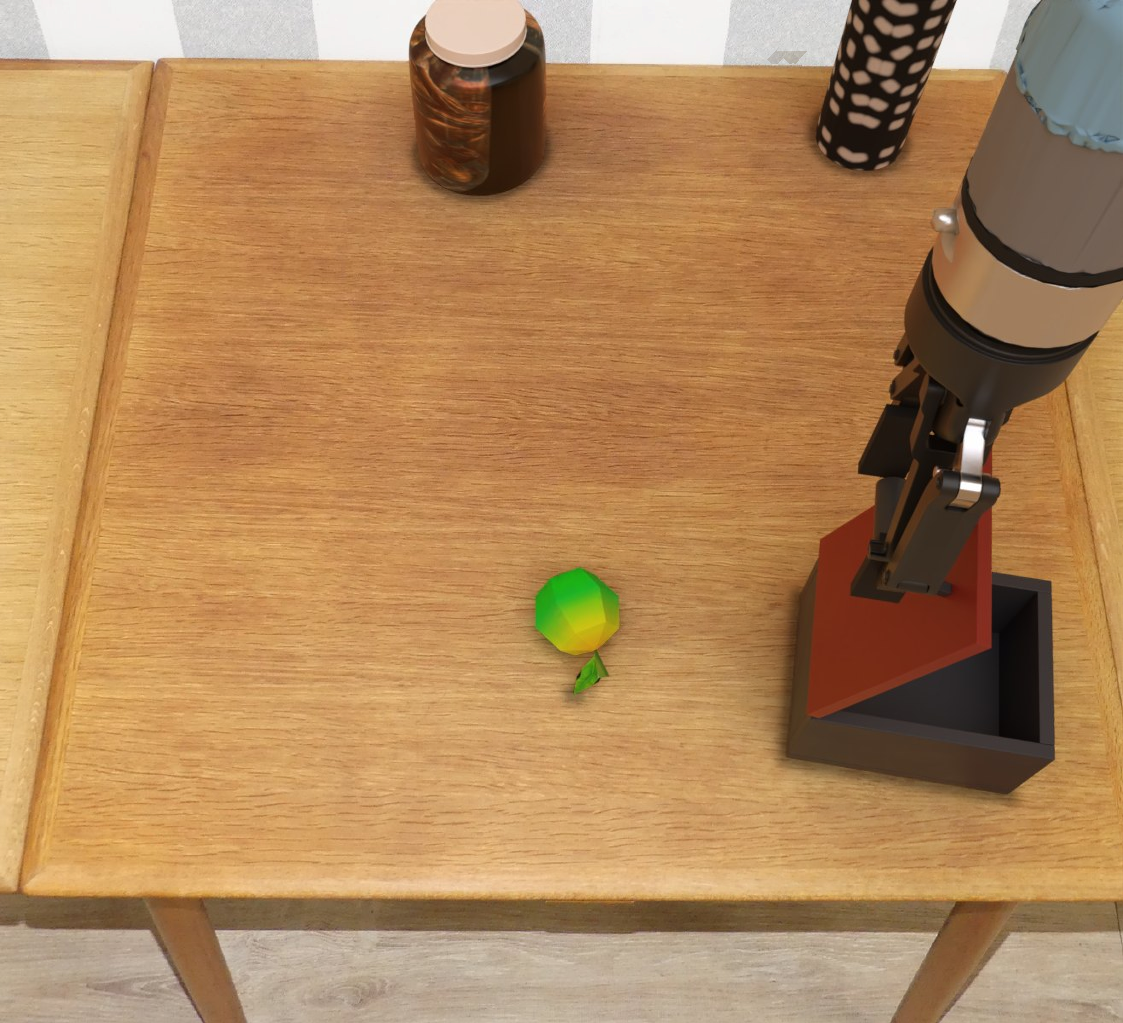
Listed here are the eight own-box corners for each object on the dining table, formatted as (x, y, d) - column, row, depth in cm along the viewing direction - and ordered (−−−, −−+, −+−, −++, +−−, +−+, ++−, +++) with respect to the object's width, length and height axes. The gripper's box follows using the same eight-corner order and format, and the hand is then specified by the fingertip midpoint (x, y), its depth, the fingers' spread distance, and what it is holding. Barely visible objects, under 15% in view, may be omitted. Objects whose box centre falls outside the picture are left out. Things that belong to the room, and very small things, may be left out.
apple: (556, 548, 88) (609, 655, 84) (613, 549, 92) (666, 651, 89) (498, 602, 92) (547, 707, 88) (556, 601, 96) (605, 701, 92)
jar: (516, 212, 112) (514, 86, 98) (399, 175, 113) (381, 46, 100) (562, 123, 117) (566, -8, 103) (449, 89, 118) (439, -44, 105)
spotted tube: (843, 181, 114) (900, 4, 96) (799, 120, 117) (846, -62, 100) (919, 155, 116) (989, -24, 98) (874, 96, 119) (933, -88, 101)
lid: (992, 444, 72) (907, 410, 70) (991, 648, 66) (899, 616, 64) (831, 543, 86) (757, 517, 85) (819, 718, 80) (739, 694, 79)
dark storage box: (1007, 628, 94) (1051, 580, 86) (1008, 794, 88) (1055, 760, 80) (799, 595, 95) (823, 544, 87) (785, 757, 89) (810, 719, 81)
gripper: (932, 90, 55) (824, 376, 75) (918, 479, 45) (799, 685, 66) (1102, 113, 54) (947, 395, 74) (1123, 511, 45) (939, 708, 65)
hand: (877, 530), depth 70 cm, fingers open, 7 cm apart
